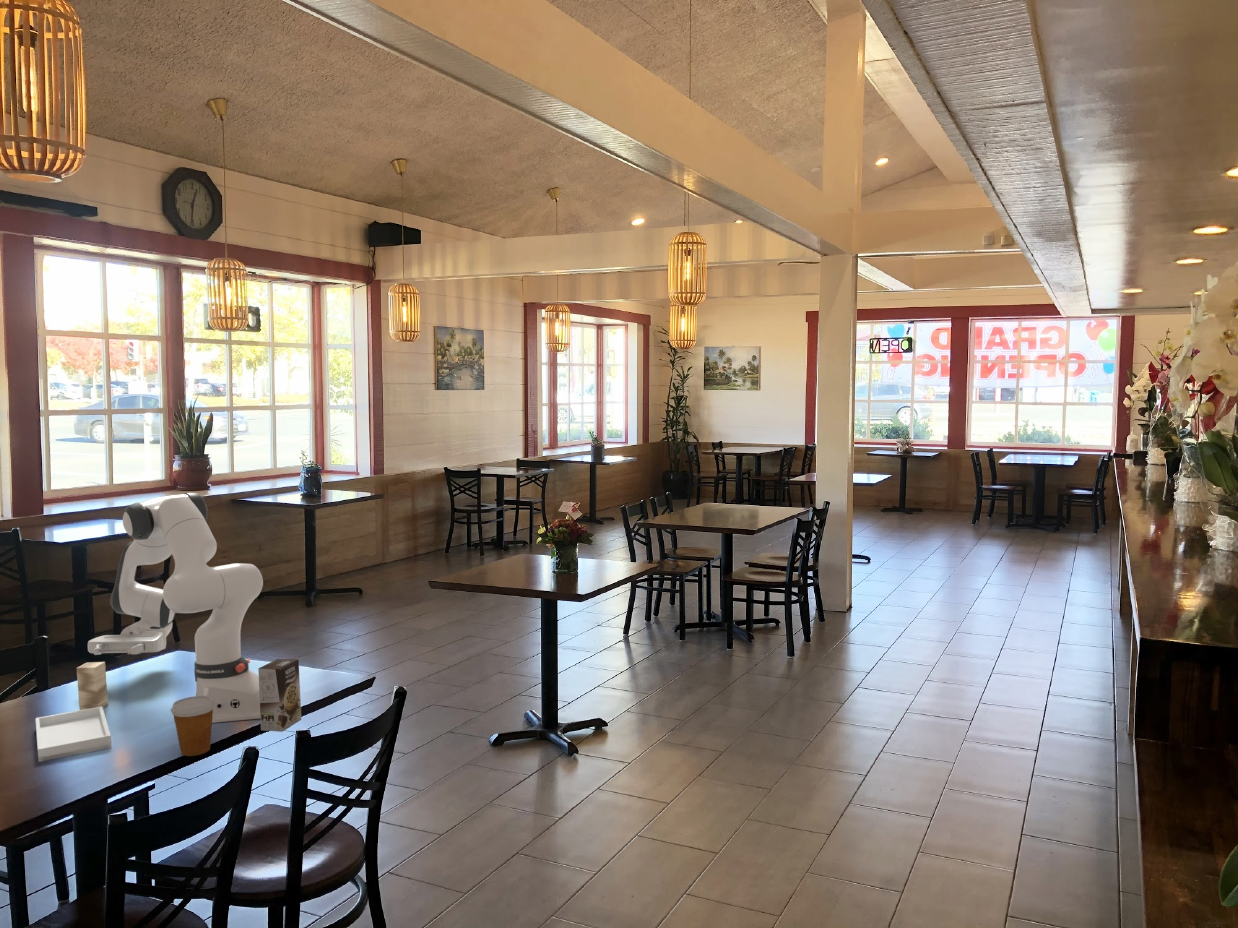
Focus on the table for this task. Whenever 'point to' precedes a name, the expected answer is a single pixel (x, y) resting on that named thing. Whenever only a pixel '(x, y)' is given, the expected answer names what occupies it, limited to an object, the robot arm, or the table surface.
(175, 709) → the disposable coffee cup
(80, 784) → the table surface
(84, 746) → the tray
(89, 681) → the ash block
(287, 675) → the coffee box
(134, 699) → the table surface
